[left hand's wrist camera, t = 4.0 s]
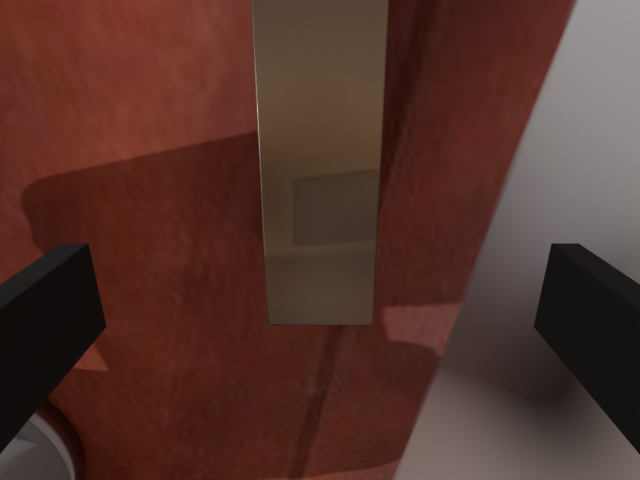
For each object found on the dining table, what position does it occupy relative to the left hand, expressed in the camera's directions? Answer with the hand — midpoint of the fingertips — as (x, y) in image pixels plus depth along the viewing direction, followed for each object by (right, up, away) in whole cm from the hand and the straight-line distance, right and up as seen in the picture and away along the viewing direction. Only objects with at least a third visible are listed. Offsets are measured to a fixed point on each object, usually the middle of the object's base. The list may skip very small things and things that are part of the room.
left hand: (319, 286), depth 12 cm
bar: (0, +27, +3) cm, 27 cm away
